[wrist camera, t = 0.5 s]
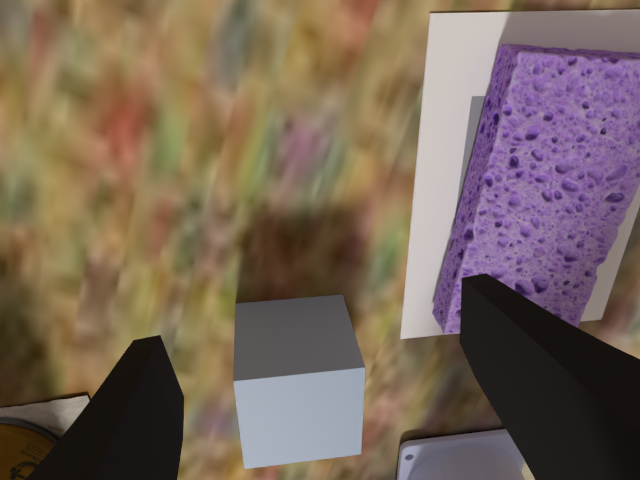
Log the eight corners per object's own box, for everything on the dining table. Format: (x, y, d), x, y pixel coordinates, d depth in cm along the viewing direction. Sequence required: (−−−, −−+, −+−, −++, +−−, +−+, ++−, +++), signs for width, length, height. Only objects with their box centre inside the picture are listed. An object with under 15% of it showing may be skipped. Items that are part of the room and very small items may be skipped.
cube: (341, 372, 26) (361, 454, 21) (244, 382, 25) (244, 468, 21) (342, 293, 23) (365, 367, 19) (235, 302, 23) (233, 381, 18)
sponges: (428, 310, 24) (441, 334, 22) (498, 37, 18) (523, 43, 17) (557, 311, 25) (578, 334, 24) (661, 54, 19) (699, 62, 18)
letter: (600, 318, 26) (601, 319, 26) (399, 337, 25) (400, 339, 25) (704, 8, 19) (706, 8, 19) (429, 13, 18) (430, 13, 18)
